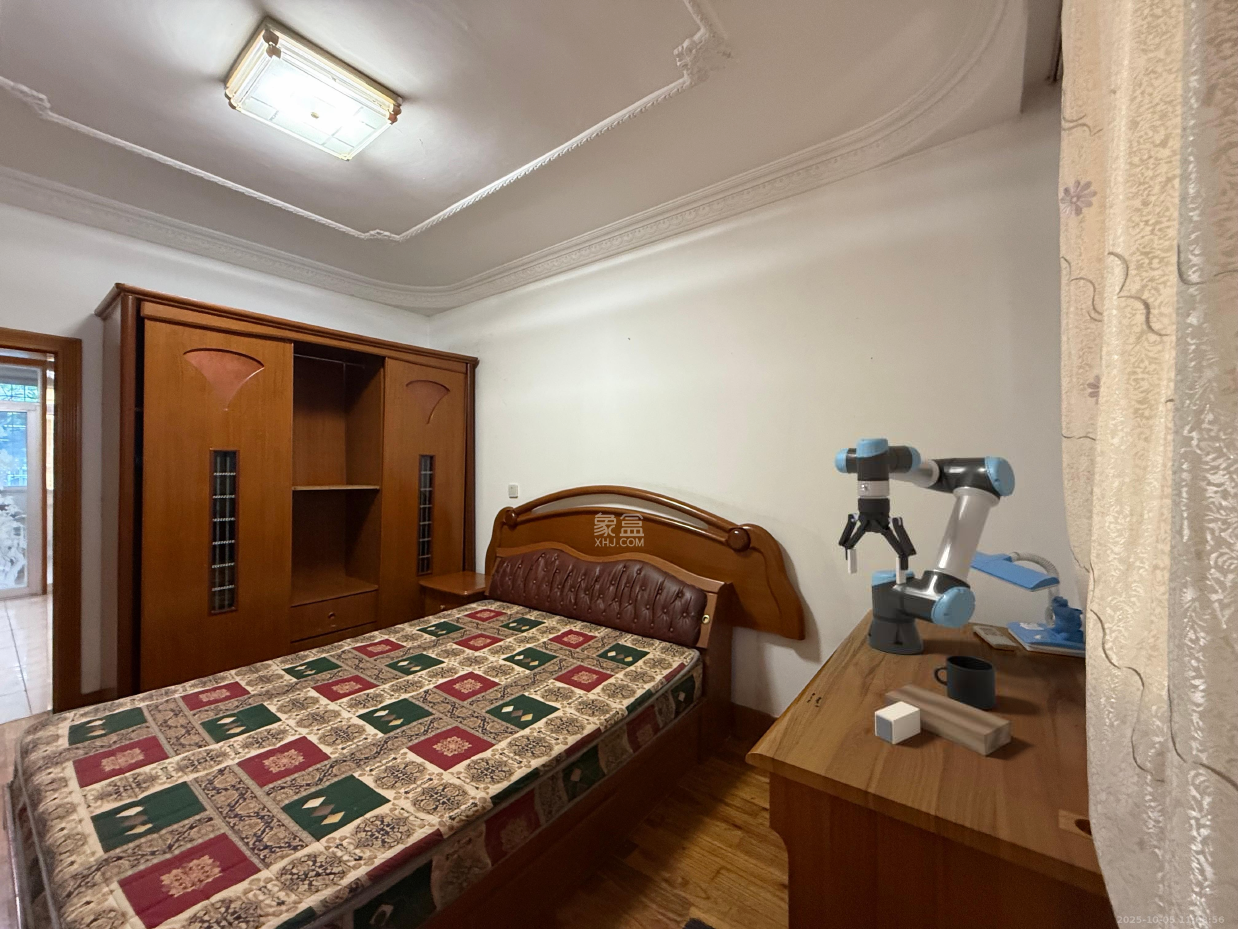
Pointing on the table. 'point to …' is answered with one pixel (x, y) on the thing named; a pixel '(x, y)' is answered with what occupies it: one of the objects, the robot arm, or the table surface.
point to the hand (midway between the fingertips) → (875, 577)
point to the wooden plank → (954, 719)
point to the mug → (969, 681)
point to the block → (897, 722)
